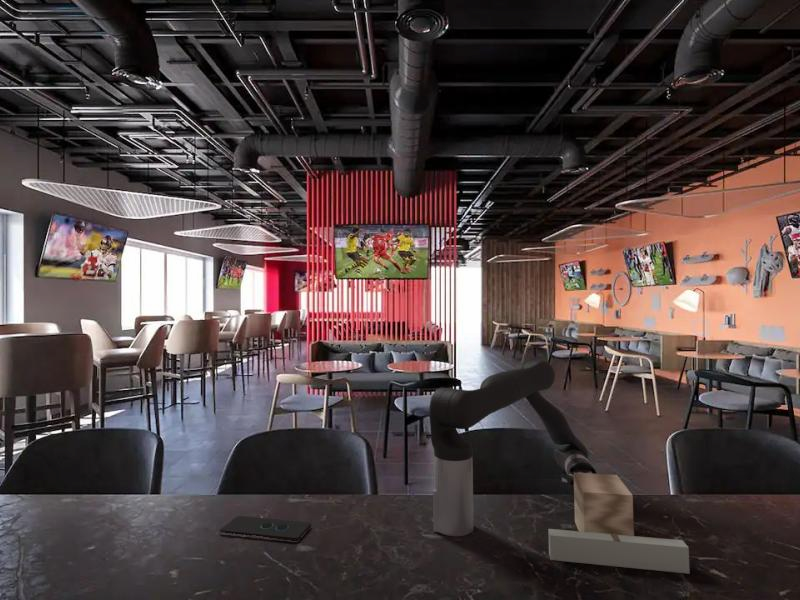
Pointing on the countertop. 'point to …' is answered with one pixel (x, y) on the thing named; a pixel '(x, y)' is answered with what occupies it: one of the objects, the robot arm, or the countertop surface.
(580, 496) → the birch block
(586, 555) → the sage board
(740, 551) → the countertop surface
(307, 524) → the smart home device
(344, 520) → the countertop surface
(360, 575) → the countertop surface
